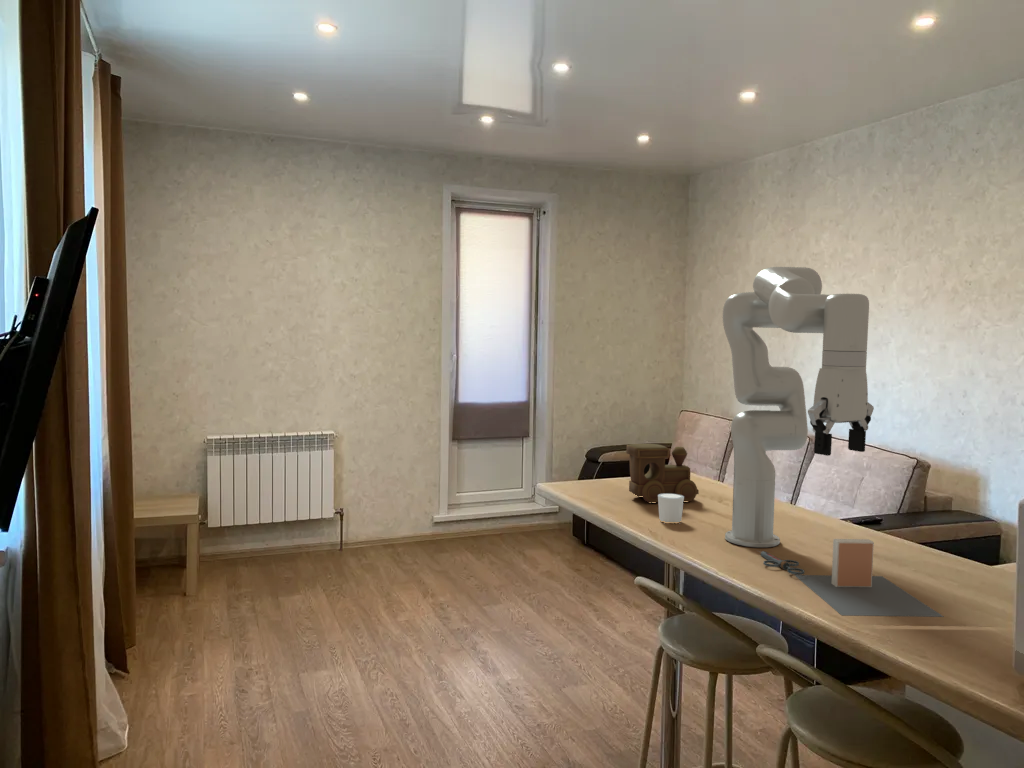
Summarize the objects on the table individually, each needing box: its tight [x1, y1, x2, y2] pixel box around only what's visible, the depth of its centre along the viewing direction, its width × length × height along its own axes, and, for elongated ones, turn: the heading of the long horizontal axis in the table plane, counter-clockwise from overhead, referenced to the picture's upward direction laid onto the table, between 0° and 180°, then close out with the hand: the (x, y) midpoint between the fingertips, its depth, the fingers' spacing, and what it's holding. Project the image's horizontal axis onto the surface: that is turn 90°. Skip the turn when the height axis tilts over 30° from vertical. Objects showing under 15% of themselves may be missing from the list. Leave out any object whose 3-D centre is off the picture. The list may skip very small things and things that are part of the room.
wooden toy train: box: [626, 443, 700, 503], centre depth 223 cm, size 20×11×17 cm, turn 102°
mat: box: [794, 574, 944, 618], centre depth 142 cm, size 22×18×1 cm
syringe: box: [757, 550, 805, 575], centre depth 160 cm, size 8×18×2 cm, turn 9°
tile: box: [831, 538, 875, 587], centre depth 146 cm, size 2×7×9 cm, turn 90°
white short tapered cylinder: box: [657, 493, 684, 522], centre depth 198 cm, size 7×7×7 cm
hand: (839, 452), depth 139 cm, fingers open, 9 cm apart
